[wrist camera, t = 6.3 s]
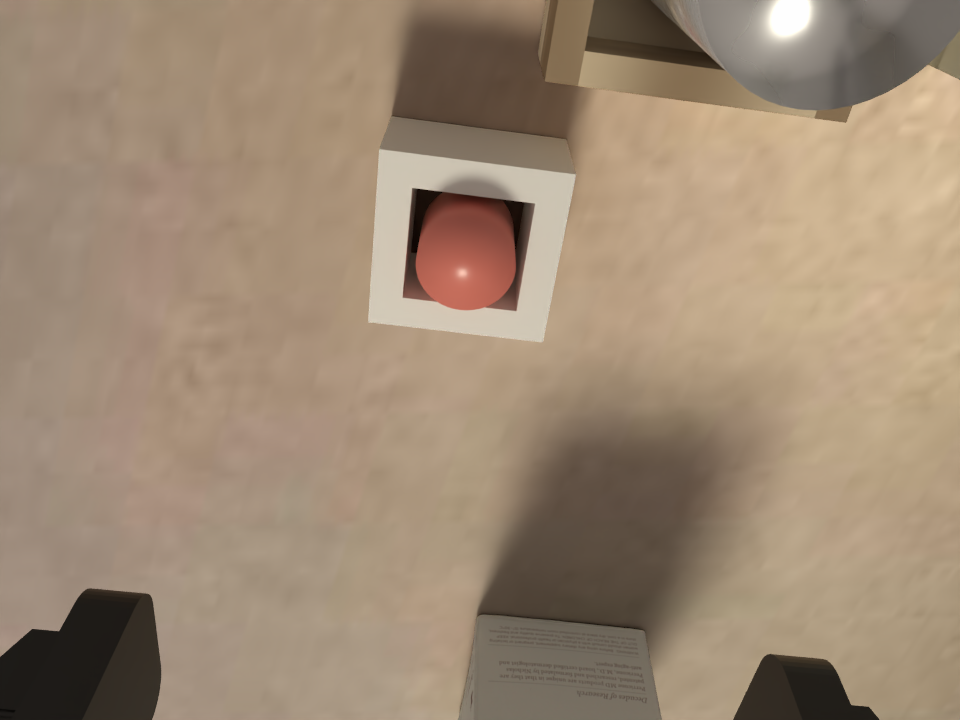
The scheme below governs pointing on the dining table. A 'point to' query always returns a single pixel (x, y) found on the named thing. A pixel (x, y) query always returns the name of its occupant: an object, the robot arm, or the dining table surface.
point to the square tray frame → (949, 58)
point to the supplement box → (558, 672)
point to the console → (478, 172)
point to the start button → (466, 251)
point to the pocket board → (641, 57)
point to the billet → (818, 44)
